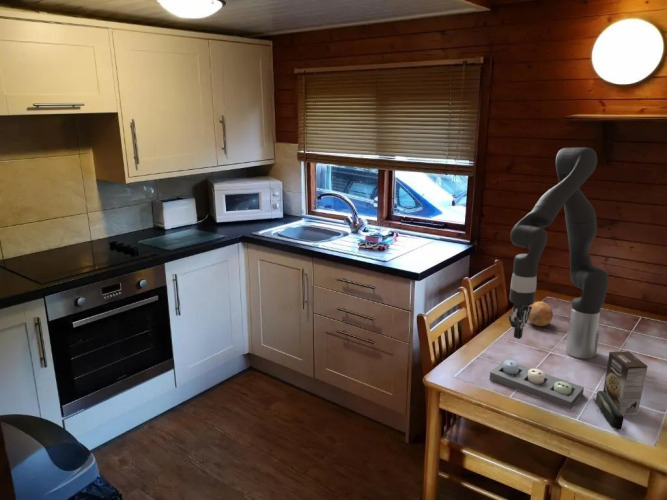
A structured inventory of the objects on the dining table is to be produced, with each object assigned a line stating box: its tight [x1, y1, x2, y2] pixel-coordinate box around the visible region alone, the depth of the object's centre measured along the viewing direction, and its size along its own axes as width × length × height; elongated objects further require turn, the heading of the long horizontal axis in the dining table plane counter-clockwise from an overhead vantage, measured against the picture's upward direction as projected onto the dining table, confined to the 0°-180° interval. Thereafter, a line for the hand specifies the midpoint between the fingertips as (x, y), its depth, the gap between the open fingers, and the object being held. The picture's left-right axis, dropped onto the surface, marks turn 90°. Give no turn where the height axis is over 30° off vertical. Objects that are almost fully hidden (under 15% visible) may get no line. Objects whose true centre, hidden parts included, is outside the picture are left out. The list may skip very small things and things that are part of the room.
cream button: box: [527, 368, 546, 386], centre depth 167 cm, size 5×5×3 cm
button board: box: [489, 359, 585, 410], centre depth 168 cm, size 26×11×2 cm, turn 47°
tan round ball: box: [528, 301, 554, 327], centre depth 211 cm, size 10×10×10 cm
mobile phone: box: [592, 390, 625, 430], centre depth 153 cm, size 5×3×15 cm
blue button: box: [502, 359, 520, 377], centre depth 173 cm, size 5×5×3 cm
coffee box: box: [602, 350, 648, 416], centre depth 155 cm, size 9×6×16 cm
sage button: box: [554, 381, 572, 396], centre depth 162 cm, size 5×5×3 cm
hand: (517, 337), depth 168 cm, fingers closed
